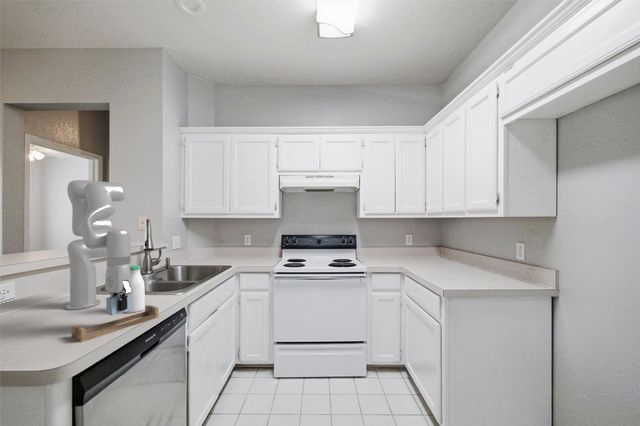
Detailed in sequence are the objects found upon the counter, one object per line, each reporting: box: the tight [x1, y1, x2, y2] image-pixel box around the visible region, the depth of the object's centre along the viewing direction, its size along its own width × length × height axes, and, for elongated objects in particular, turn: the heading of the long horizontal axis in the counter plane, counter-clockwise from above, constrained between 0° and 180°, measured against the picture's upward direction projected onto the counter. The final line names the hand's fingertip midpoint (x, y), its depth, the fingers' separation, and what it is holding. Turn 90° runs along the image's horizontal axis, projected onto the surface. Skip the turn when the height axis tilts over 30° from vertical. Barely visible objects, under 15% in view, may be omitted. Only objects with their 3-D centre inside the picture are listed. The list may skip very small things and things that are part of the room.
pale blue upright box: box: [105, 294, 132, 316], centre depth 109 cm, size 4×7×6 cm, turn 151°
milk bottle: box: [125, 264, 146, 314], centre depth 127 cm, size 8×8×20 cm
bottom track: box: [71, 304, 160, 343], centre depth 109 cm, size 8×26×4 cm, turn 151°
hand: (119, 308), depth 109 cm, fingers closed on pale blue upright box, 4 cm apart
